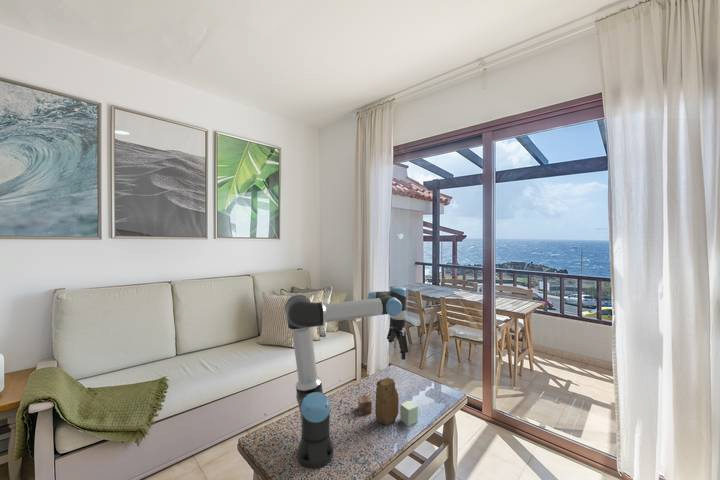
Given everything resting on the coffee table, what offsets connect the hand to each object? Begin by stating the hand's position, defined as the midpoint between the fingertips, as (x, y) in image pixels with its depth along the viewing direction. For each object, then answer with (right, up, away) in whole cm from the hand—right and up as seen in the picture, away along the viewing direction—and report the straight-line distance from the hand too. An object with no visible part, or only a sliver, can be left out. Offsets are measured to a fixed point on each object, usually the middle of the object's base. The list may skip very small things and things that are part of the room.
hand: (396, 359), depth 152 cm
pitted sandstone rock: (-5, -30, -1) cm, 30 cm away
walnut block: (-16, -29, +7) cm, 34 cm away
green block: (+6, -30, -2) cm, 30 cm away
